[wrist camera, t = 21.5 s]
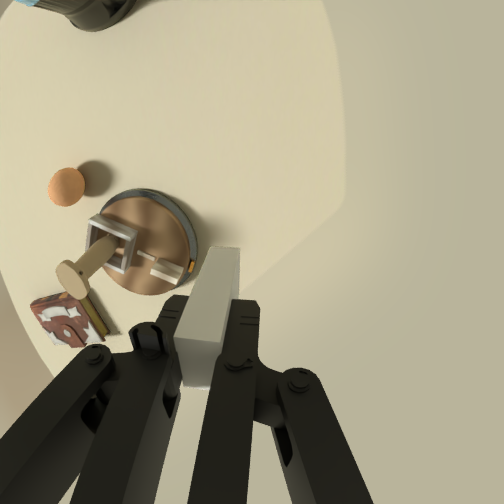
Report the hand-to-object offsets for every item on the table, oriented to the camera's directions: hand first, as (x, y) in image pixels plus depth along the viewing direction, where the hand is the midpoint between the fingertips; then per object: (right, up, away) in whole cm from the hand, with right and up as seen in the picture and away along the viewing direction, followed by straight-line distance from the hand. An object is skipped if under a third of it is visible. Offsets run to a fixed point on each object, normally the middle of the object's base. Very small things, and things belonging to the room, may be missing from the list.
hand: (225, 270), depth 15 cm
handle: (-25, +3, +35) cm, 43 cm away
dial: (-20, +2, +37) cm, 42 cm away
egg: (-33, +15, +33) cm, 49 cm away
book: (-48, -16, +50) cm, 71 cm away
